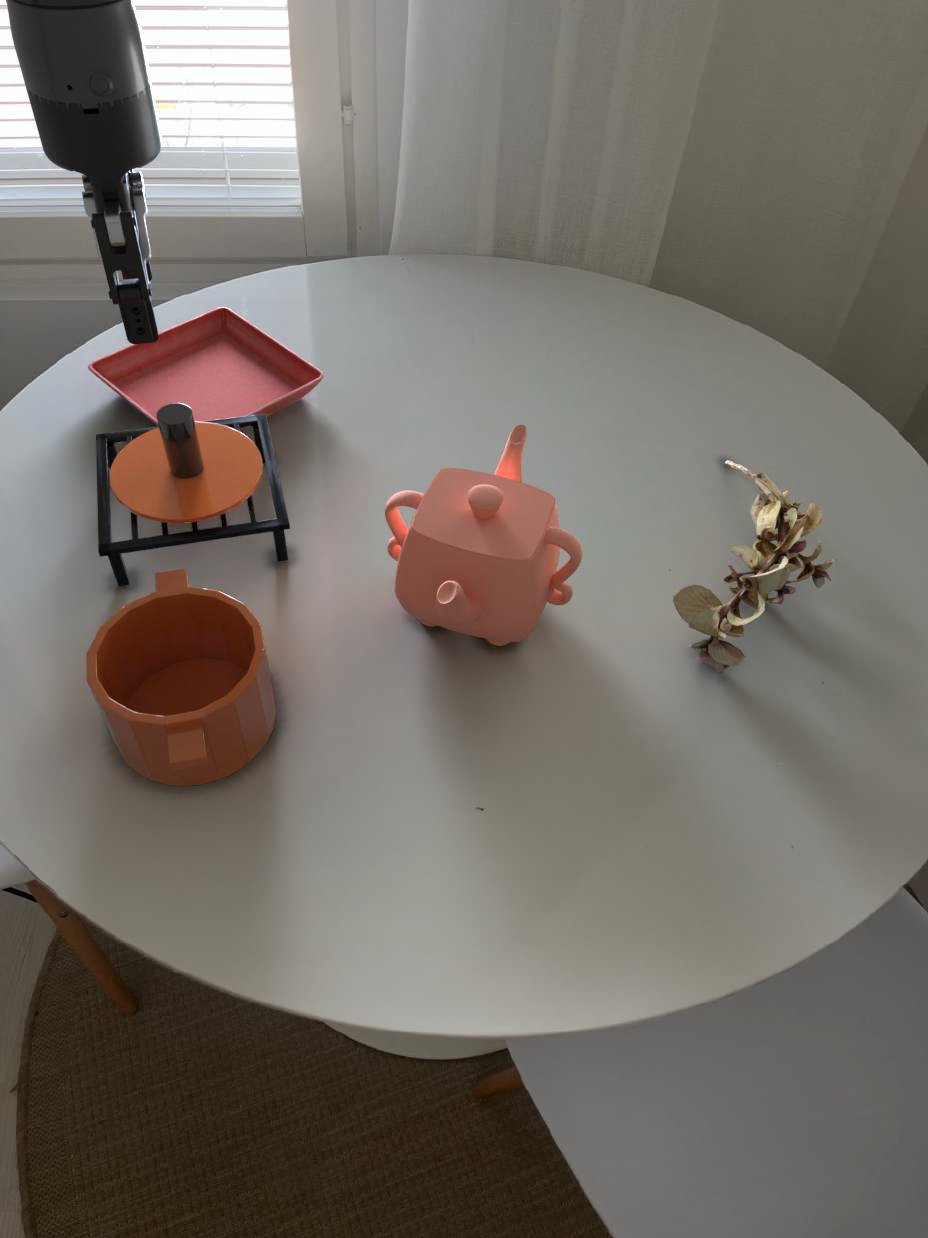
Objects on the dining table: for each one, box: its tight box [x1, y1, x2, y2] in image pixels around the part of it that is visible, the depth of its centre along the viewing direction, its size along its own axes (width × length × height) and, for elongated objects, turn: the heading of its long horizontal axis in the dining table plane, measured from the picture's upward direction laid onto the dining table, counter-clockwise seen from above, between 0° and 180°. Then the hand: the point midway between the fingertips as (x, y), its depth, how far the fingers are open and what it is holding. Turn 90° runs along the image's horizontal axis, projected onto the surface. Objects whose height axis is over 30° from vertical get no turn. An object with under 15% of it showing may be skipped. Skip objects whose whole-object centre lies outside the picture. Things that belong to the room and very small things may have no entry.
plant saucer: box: [87, 306, 325, 431], centre depth 97 cm, size 18×18×3 cm
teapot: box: [384, 424, 583, 647], centre depth 77 cm, size 15×17×13 cm
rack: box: [95, 414, 291, 587], centre depth 84 cm, size 16×16×5 cm
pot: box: [85, 567, 277, 787], centre depth 69 cm, size 12×18×8 cm
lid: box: [109, 403, 264, 524], centre depth 80 cm, size 13×13×7 cm
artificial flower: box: [672, 459, 836, 674], centre depth 84 cm, size 10×14×30 cm
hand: (141, 309), depth 69 cm, fingers open, 8 cm apart
